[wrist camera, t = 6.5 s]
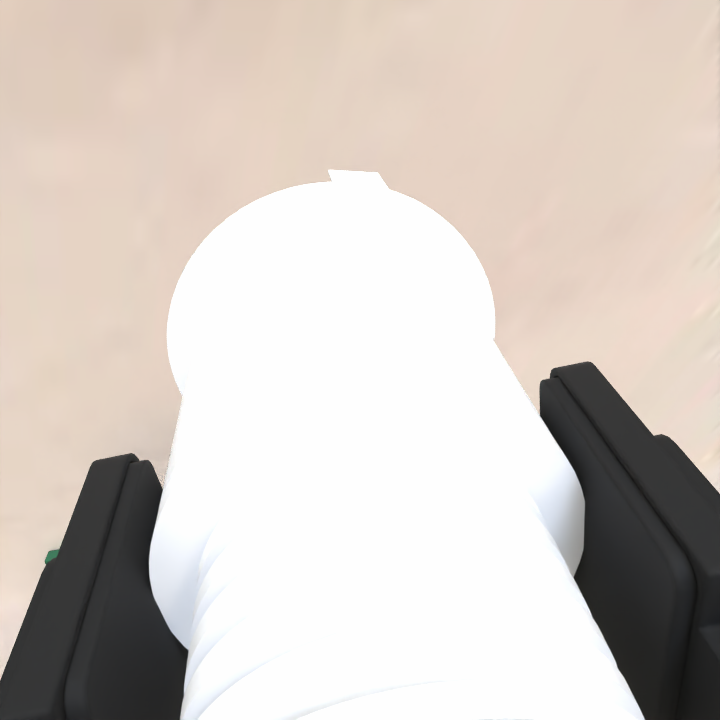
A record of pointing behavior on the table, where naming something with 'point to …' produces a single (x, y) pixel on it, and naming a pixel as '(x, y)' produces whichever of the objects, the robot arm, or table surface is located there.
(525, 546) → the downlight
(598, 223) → the table surface
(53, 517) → the table surface
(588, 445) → the robot arm
